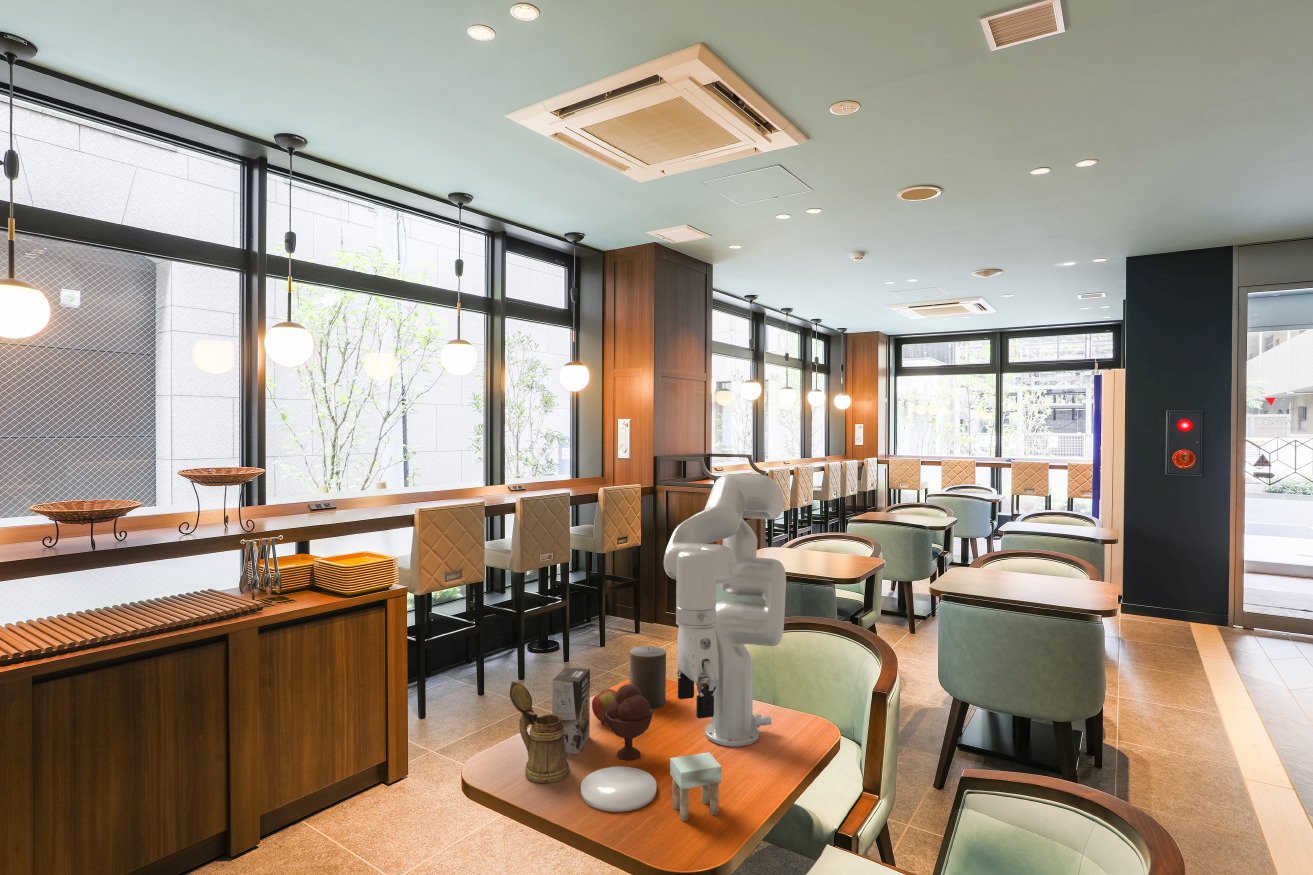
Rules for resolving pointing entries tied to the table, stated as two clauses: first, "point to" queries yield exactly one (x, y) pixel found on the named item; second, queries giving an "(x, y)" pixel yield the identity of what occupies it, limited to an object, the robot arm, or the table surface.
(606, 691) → the apple
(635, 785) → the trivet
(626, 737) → the ice cream bowl
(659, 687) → the pillar candle
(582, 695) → the coffee box
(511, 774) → the table surface
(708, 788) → the mint green stool
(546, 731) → the wooden mug
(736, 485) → the robot arm
